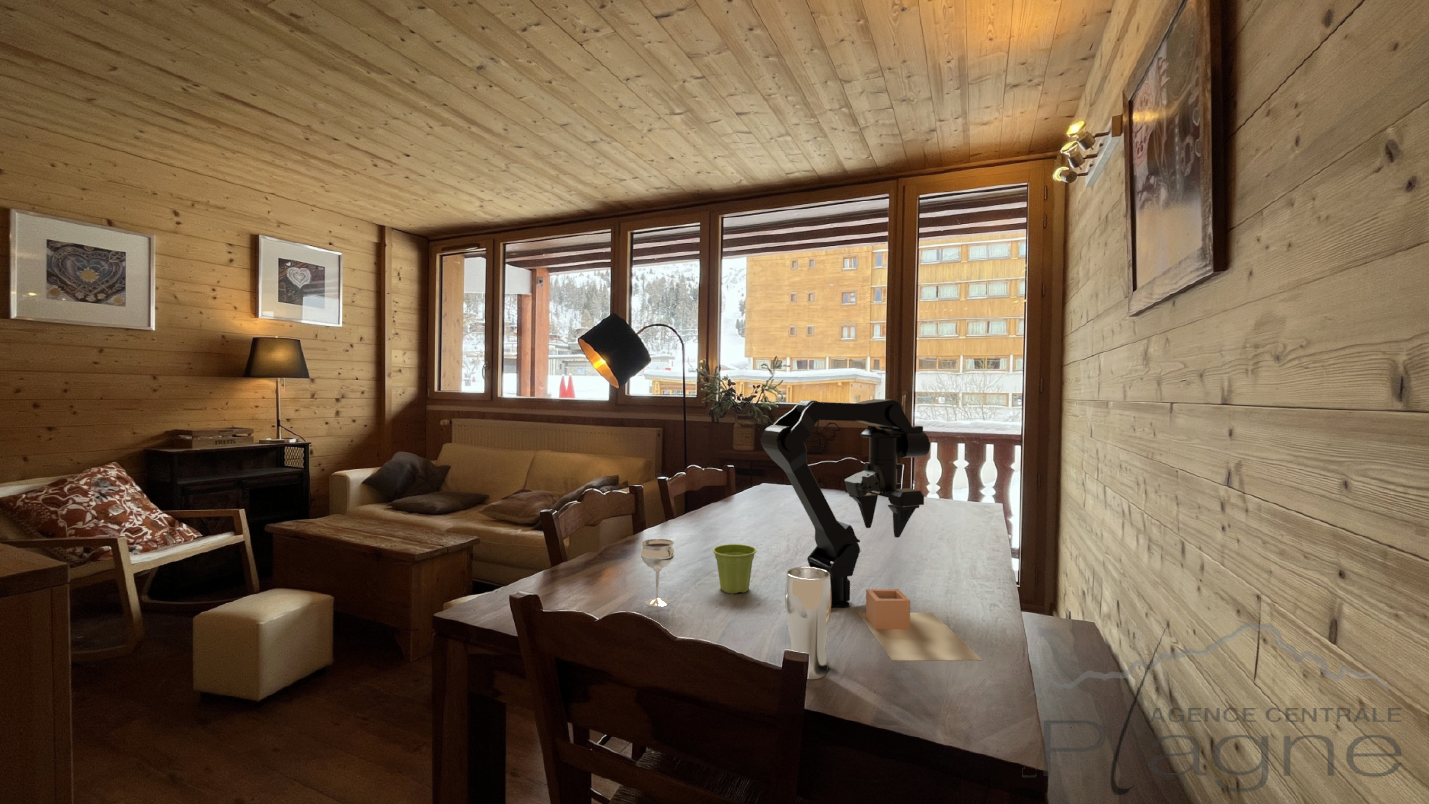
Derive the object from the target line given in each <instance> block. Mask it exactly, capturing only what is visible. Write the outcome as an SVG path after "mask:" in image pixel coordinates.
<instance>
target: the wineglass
mask: <svg viewBox="0 0 1429 804" xmlns="http://www.w3.org/2000/svg"><path fill="white" fill-rule="evenodd" d="M674 544H675V541H673V540H671V539H665V538H651V539H646V540H643V541H641V543H640V546H641V547H642V548H641V550H640V558H641V561H642V562H643V563H644V564H645V565H646V566H647V567H648V568H651V569H653V572H655V590H656V591H655V592H656V593H655V595H656V596H655V597H652V598H649V599H647V600H645V602H644V604H645V605H646V606H648V607H649V606H650V607H655V608H657V607H658V608H659V607H664V606H668V605H669V604H670V600H669V599H667V598H663V597H659V592H660V591H659V588H660V586H659V585H660V572H661V571H662V569H664V568H666V567H668V566H669V565H670V564H671V563H672V562H673V560H674V558H675V549H674V548H673V546H674Z"/></svg>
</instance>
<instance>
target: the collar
mask: <svg viewBox="0 0 1429 804" xmlns="http://www.w3.org/2000/svg"><path fill="white" fill-rule="evenodd" d="M879 598H894V599H879ZM865 613H866V617H867V619H868V620H869V621H870V623H871V624H872V625H873V627H874V628H875V629H910V613H911V600H910V599H909V598H908V597H907V596H906V595H905V594H904V593H903V591H901V590H900V589H899V588H897V589H893V588H892V589H891V588H887V589H886V588H885V589H884V588H883V589H878V588H877V589H876V588H875V589H874V588H873V589H872V588H871V589H870V588H869V589H866V590H865Z"/></svg>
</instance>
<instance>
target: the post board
mask: <svg viewBox="0 0 1429 804" xmlns="http://www.w3.org/2000/svg"><path fill="white" fill-rule="evenodd" d="M879 599H894V598H879ZM858 615H859V617H860V618H861V620H863V622H864V623H865V625H866V627H867V628H868V629H869V631H870V632H871V633H872V635H873V636H874V638H876V640H877V642H878V643H879V644H880V646H881V647H882V649H883V650H884V652H885V653H886V654H887V656H888V658H890V661H892V662H893V661H896V662H897V661H899V662H900V661H901V662H902V661H905V662H907V661H910V662H911V661H983V659H982V658H981V657H980V656H979V655H978V654H977V653H976V652H975V651H973V649H971V647H969V645H967V644H966V643H965V642H964V641H963V640H962V639H961V638H960V637H959V636H958V635H956V633H954V631H952V630H951V629H950V628H949V627H948V626H947V625H946V624H945V623H944V622H943V621H942V620H941V619H940V618H939V617H938V616H936V615H935V613H933V612H931V611H930V612H928V611H927V612H910V629H875V628H874V627H873V625H872V624H871V623H870V621H869V620H868V619H867V617H866V612H858Z"/></svg>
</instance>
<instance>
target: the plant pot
mask: <svg viewBox="0 0 1429 804" xmlns="http://www.w3.org/2000/svg"><path fill="white" fill-rule="evenodd" d="M712 552H713V553H714V558H715V560H716V565H717V572H718V580H719V587H720V589H721V591H722V592H724V593H726V594H727V593H728V594H738V593H745V592H747V591H749V589H750V582H751V574H752V567H753V566H752V565H753V561H754V559H755V554H756V553H757V548H756V547H754V546H751V545H747V544H739V543H737V544H736V543H735V544H733V543H730V544H722V545H721V544H720V545H718V546H714V547H713V548H712Z"/></svg>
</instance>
